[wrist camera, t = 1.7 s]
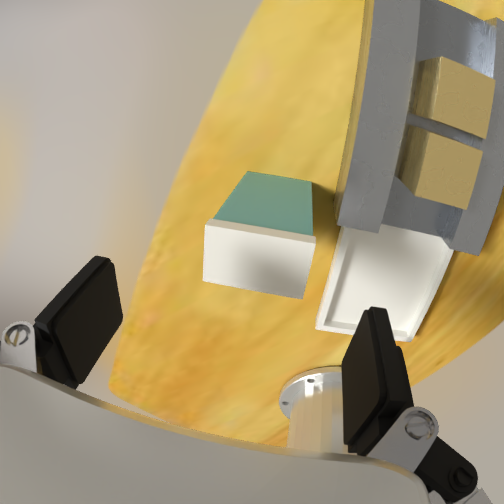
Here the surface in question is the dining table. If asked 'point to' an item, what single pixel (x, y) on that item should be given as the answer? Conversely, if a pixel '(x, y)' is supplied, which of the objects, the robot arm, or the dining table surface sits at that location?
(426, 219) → the slot board
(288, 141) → the dining table surface
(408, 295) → the tray
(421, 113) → the gold cube
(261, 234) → the teal rectangular block
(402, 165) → the chip
